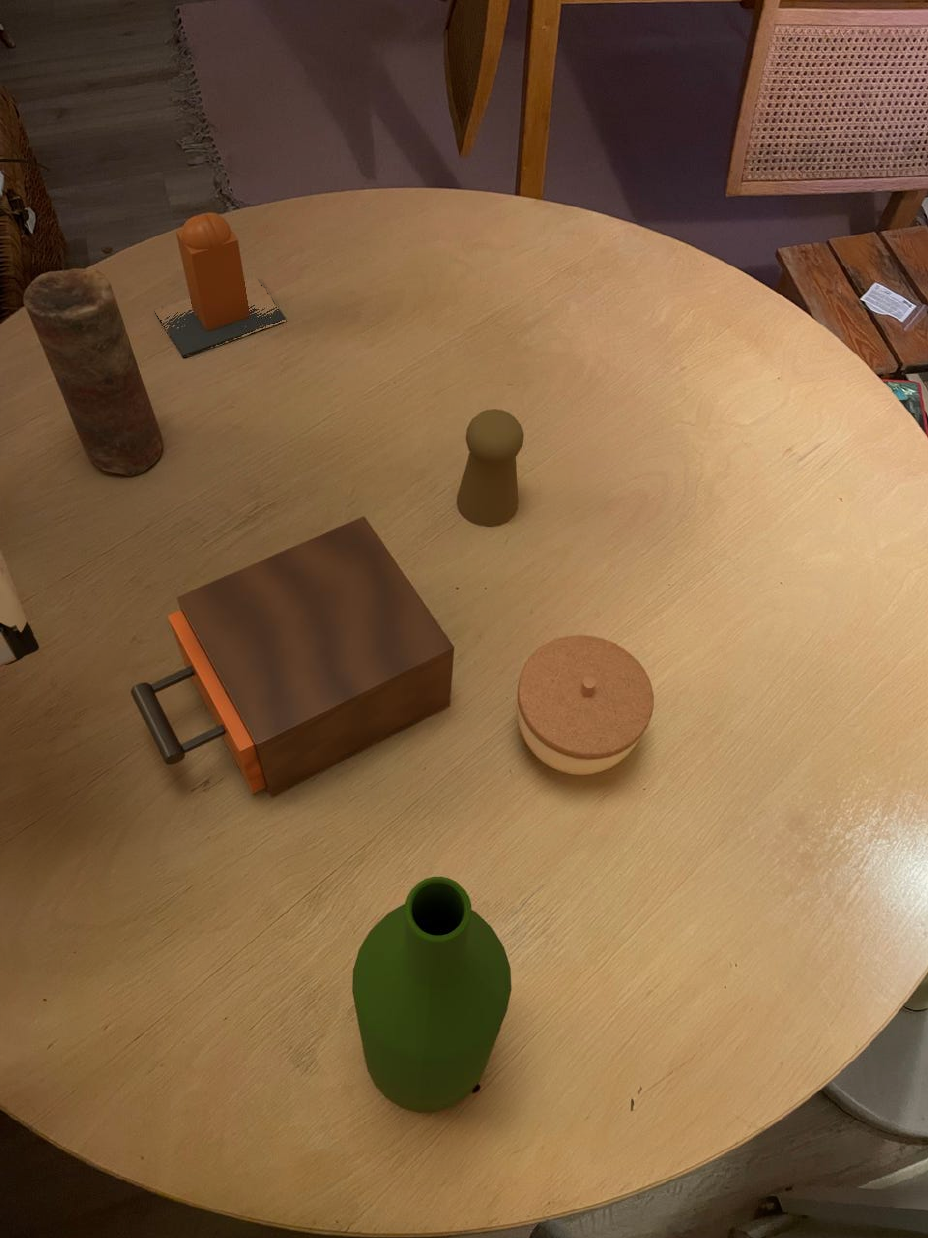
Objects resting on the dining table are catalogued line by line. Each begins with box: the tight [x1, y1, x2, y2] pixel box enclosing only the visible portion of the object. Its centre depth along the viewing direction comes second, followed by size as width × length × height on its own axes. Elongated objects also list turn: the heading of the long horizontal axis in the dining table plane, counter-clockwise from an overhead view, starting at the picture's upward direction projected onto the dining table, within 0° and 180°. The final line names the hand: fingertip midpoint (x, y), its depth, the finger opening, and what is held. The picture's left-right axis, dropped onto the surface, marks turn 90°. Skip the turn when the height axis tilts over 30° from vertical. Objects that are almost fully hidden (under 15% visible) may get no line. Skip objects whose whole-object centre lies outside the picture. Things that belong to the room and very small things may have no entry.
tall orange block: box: [175, 212, 250, 331], centre depth 108 cm, size 5×4×12 cm
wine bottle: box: [351, 876, 512, 1113], centre depth 60 cm, size 9×9×32 cm
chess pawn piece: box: [456, 408, 525, 528], centre depth 96 cm, size 6×6×11 cm
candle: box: [22, 268, 163, 477], centre depth 94 cm, size 8×7×20 cm
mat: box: [161, 305, 287, 358], centre depth 113 cm, size 12×8×1 cm, turn 121°
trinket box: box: [516, 634, 655, 776], centre depth 84 cm, size 11×11×9 cm
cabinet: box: [176, 515, 455, 798], centre depth 85 cm, size 17×15×10 cm
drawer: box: [130, 610, 266, 794], centre depth 84 cm, size 21×14×8 cm, turn 121°
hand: (11, 650), depth 65 cm, fingers closed
